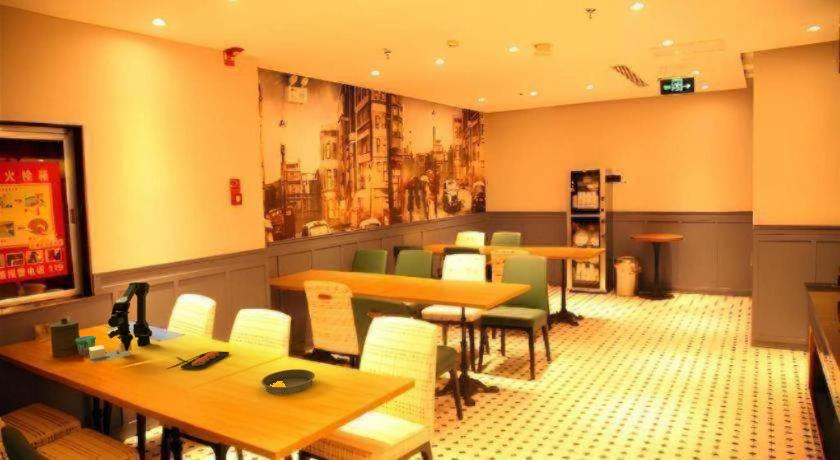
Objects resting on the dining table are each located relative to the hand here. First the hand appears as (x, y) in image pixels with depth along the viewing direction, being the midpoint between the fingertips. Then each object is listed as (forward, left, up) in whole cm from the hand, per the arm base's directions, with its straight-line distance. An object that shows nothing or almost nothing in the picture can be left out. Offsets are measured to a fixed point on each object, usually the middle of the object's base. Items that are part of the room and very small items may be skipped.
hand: (125, 349), depth 335 cm
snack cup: (+17, -24, -5) cm, 30 cm away
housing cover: (+13, -9, -3) cm, 17 cm away
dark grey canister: (+26, -38, -5) cm, 46 cm away
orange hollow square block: (0, 0, 0) cm, 0 cm away
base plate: (+7, -6, -4) cm, 11 cm away
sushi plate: (-27, +38, -5) cm, 47 cm away
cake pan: (-50, +113, -5) cm, 124 cm away
